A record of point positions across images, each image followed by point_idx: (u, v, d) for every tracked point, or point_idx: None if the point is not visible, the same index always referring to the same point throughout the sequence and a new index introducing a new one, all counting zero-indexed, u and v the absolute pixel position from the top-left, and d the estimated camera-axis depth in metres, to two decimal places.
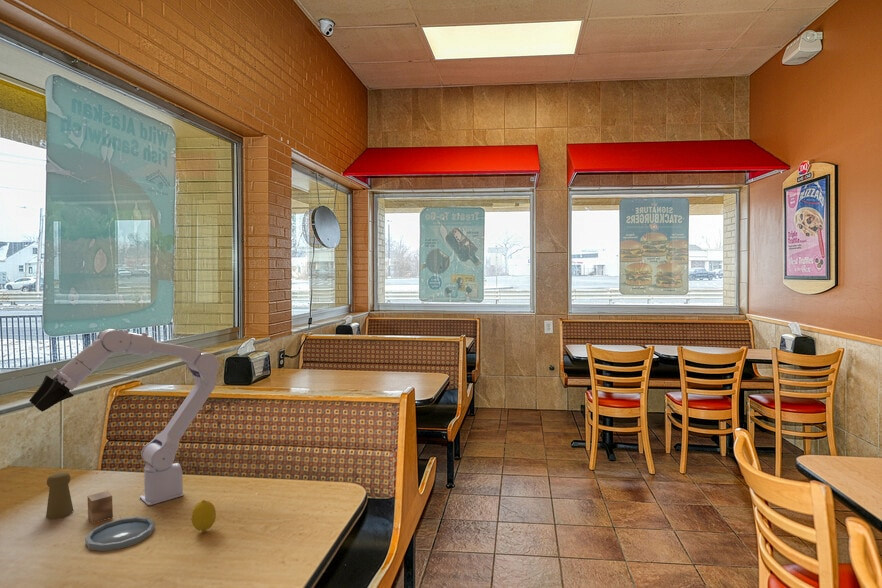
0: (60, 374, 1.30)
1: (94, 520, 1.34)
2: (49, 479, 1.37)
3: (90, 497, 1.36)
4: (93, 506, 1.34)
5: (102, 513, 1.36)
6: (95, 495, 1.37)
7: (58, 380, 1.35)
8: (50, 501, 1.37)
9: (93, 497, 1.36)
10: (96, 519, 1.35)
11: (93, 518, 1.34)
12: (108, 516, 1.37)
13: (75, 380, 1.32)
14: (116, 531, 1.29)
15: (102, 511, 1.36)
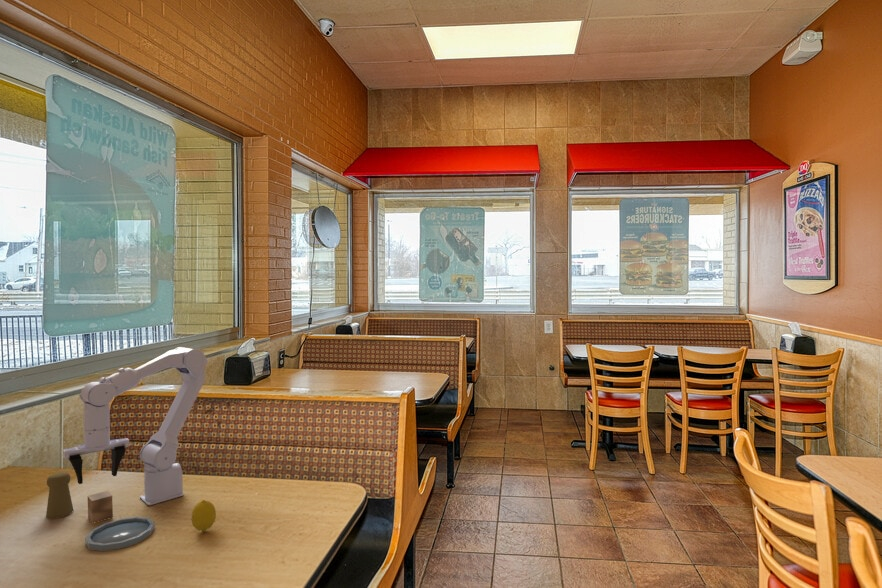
0: (108, 446, 1.36)
1: (94, 520, 1.34)
2: (49, 479, 1.37)
3: (90, 497, 1.36)
4: (93, 506, 1.34)
5: (102, 513, 1.36)
6: (95, 495, 1.37)
7: (81, 454, 1.34)
8: (50, 501, 1.37)
9: (93, 497, 1.36)
10: (96, 519, 1.35)
11: (93, 518, 1.34)
12: (108, 516, 1.37)
13: None
14: (116, 531, 1.29)
15: (102, 511, 1.36)
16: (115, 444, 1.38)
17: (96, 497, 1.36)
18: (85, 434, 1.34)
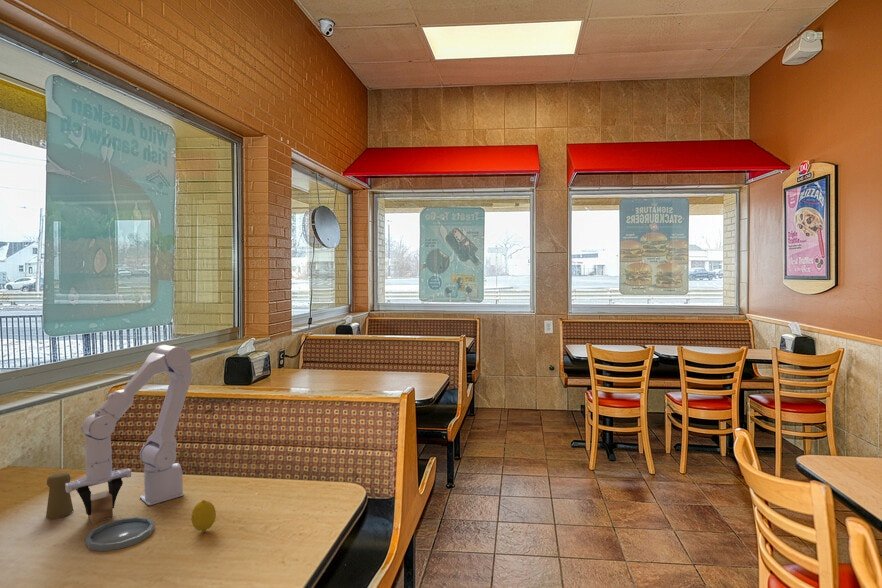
0: (111, 478, 1.37)
1: (94, 520, 1.34)
2: (49, 479, 1.38)
3: None
4: (93, 506, 1.34)
5: (102, 512, 1.36)
6: (95, 495, 1.37)
7: (84, 487, 1.34)
8: (50, 501, 1.37)
9: (93, 497, 1.36)
10: (96, 519, 1.35)
11: (93, 518, 1.34)
12: (108, 516, 1.37)
13: None
14: (116, 531, 1.29)
15: (102, 511, 1.36)
16: (117, 475, 1.38)
17: (96, 497, 1.36)
18: (87, 467, 1.34)
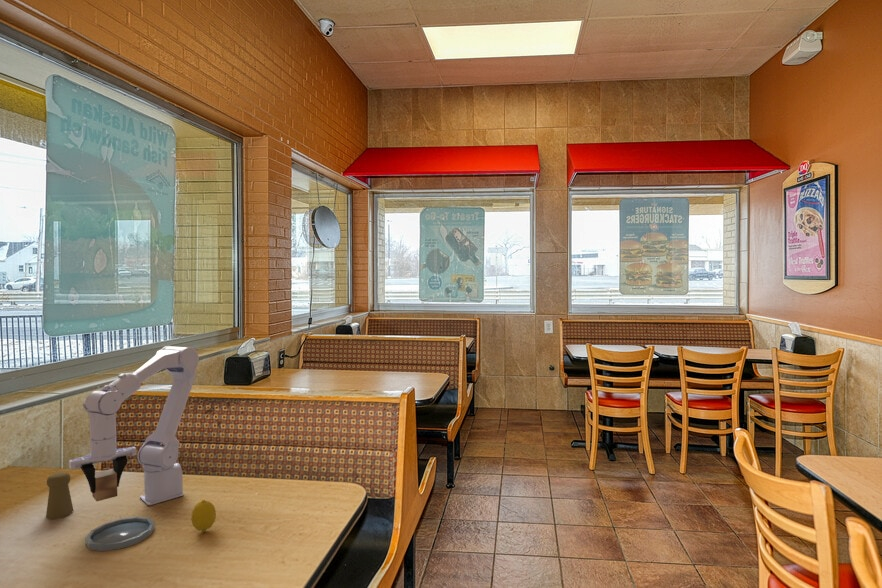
0: (115, 455, 1.34)
1: (98, 498, 1.31)
2: (49, 479, 1.37)
3: None
4: (97, 483, 1.31)
5: (106, 490, 1.33)
6: (99, 473, 1.34)
7: (88, 464, 1.31)
8: (50, 501, 1.37)
9: (97, 474, 1.33)
10: (100, 497, 1.32)
11: (97, 496, 1.31)
12: (112, 494, 1.34)
13: None
14: (116, 531, 1.29)
15: (106, 489, 1.33)
16: (122, 453, 1.35)
17: (100, 474, 1.33)
18: (91, 444, 1.31)
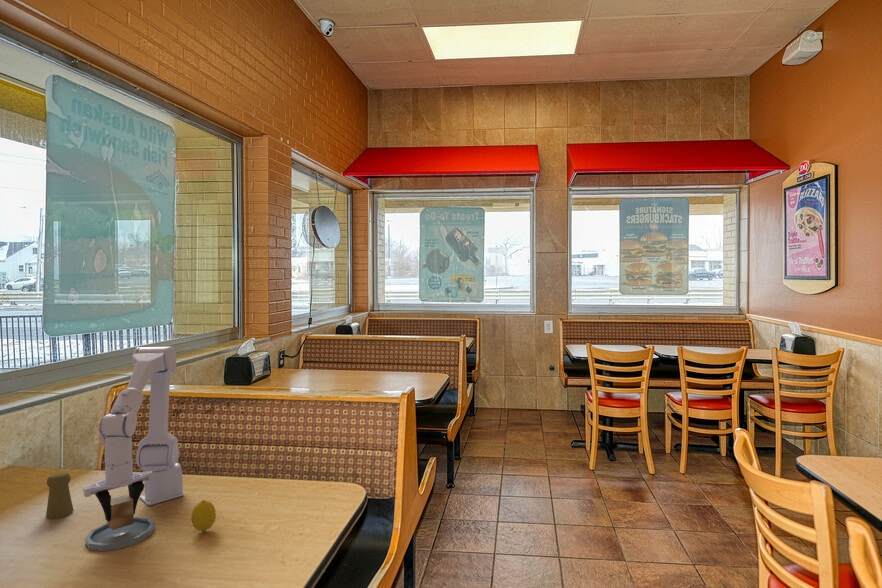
0: (132, 481, 1.27)
1: (114, 526, 1.25)
2: (49, 479, 1.37)
3: None
4: (113, 511, 1.25)
5: (122, 518, 1.26)
6: (115, 499, 1.28)
7: (103, 490, 1.25)
8: (50, 501, 1.37)
9: (113, 501, 1.26)
10: (116, 525, 1.25)
11: (113, 524, 1.25)
12: (129, 522, 1.27)
13: None
14: (116, 531, 1.29)
15: (122, 517, 1.26)
16: (138, 478, 1.29)
17: (116, 501, 1.26)
18: (107, 469, 1.25)
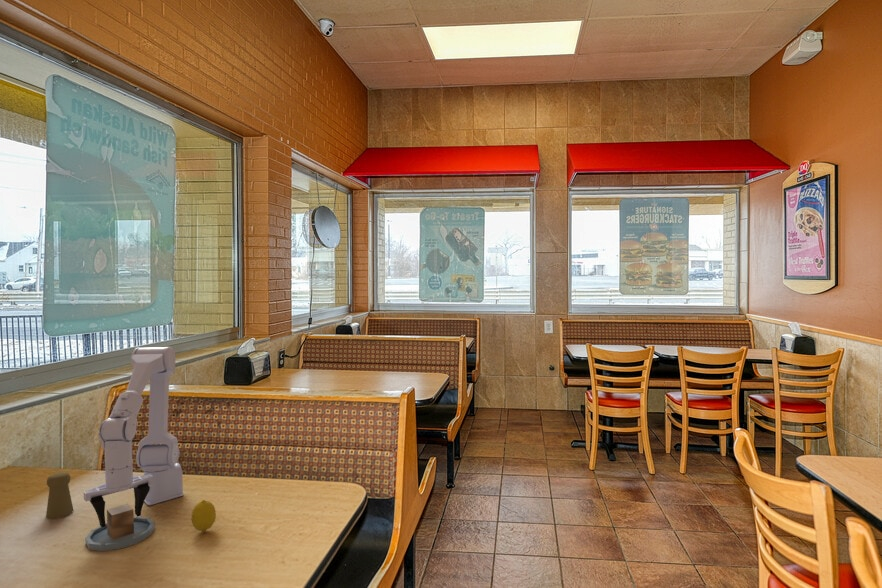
0: (132, 485, 1.27)
1: (114, 536, 1.25)
2: (49, 479, 1.37)
3: (110, 511, 1.27)
4: (113, 521, 1.25)
5: (123, 528, 1.26)
6: (115, 509, 1.28)
7: (103, 494, 1.25)
8: (50, 501, 1.37)
9: (113, 511, 1.26)
10: (116, 535, 1.25)
11: (113, 534, 1.25)
12: (129, 531, 1.27)
13: None
14: None
15: (123, 526, 1.26)
16: (139, 482, 1.29)
17: (116, 511, 1.26)
18: (107, 473, 1.25)
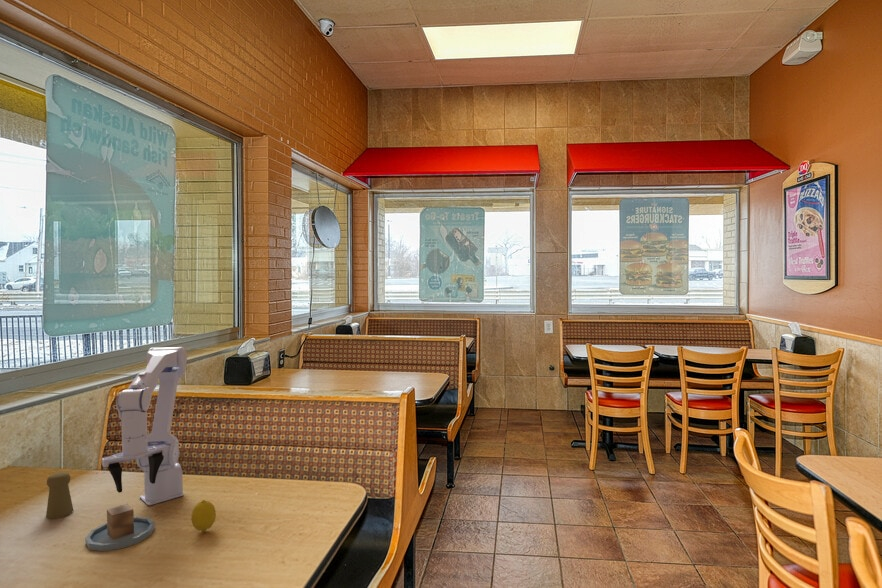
0: (147, 453, 1.34)
1: (114, 536, 1.25)
2: (49, 479, 1.37)
3: (110, 511, 1.27)
4: (113, 521, 1.25)
5: (123, 528, 1.26)
6: (115, 508, 1.28)
7: (120, 462, 1.31)
8: (50, 501, 1.37)
9: (113, 511, 1.27)
10: (116, 535, 1.25)
11: (113, 534, 1.25)
12: (129, 531, 1.27)
13: None
14: None
15: (123, 526, 1.26)
16: (153, 451, 1.35)
17: (116, 511, 1.26)
18: (123, 442, 1.31)
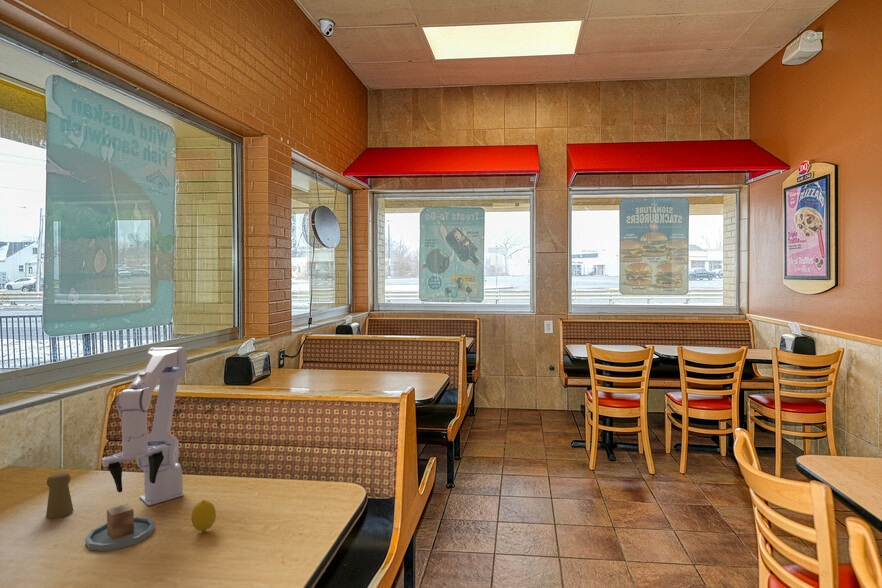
0: (147, 453, 1.34)
1: (114, 536, 1.25)
2: (49, 479, 1.37)
3: (110, 511, 1.27)
4: (113, 521, 1.25)
5: (123, 528, 1.26)
6: (115, 509, 1.28)
7: (120, 461, 1.31)
8: (50, 501, 1.37)
9: (113, 511, 1.26)
10: (116, 535, 1.25)
11: (113, 534, 1.25)
12: (129, 531, 1.27)
13: None
14: None
15: (123, 526, 1.26)
16: (153, 451, 1.36)
17: (116, 511, 1.26)
18: (124, 442, 1.32)
